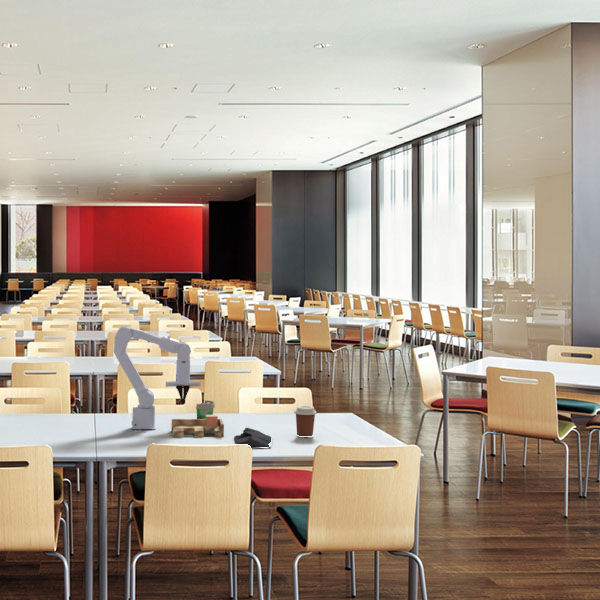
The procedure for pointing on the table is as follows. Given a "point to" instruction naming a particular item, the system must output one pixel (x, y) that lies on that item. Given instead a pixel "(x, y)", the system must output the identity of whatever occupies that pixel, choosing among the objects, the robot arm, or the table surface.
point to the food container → (205, 409)
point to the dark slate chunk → (253, 438)
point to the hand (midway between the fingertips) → (182, 403)
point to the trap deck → (196, 428)
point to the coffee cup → (305, 420)
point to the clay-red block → (211, 421)
